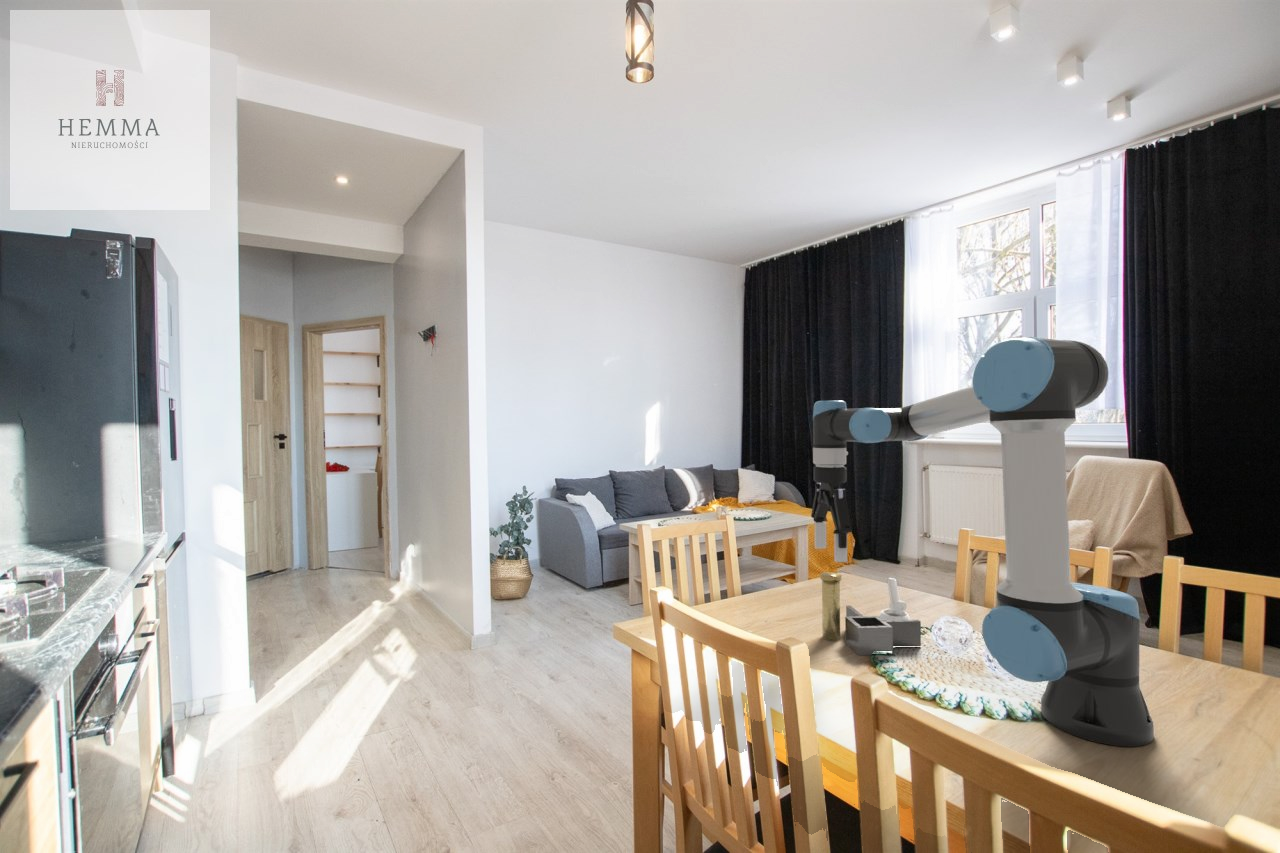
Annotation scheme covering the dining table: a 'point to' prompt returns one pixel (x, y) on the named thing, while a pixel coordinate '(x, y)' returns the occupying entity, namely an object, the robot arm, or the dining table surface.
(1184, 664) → the dining table surface
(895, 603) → the hook
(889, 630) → the hinge base
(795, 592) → the dining table surface
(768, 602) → the dining table surface
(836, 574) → the hinge pin
